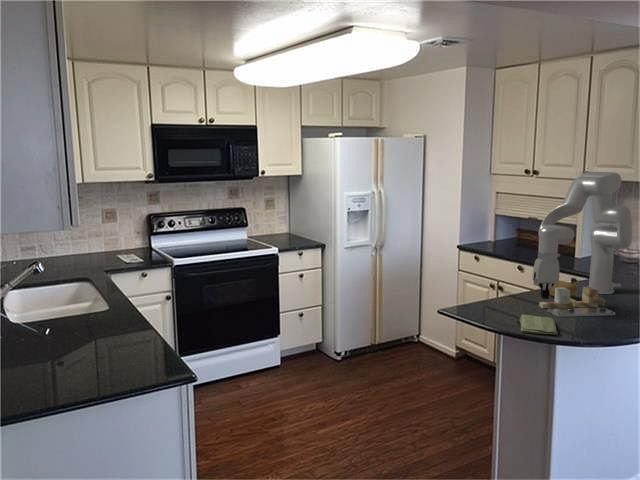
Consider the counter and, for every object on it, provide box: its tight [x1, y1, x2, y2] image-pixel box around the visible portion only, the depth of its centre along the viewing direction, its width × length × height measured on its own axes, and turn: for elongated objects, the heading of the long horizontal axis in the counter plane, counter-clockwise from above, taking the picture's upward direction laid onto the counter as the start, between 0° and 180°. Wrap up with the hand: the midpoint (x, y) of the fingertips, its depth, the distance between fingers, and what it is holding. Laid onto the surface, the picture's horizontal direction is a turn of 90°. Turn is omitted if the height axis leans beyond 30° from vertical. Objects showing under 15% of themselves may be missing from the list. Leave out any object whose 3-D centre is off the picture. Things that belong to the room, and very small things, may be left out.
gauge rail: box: [538, 286, 606, 309], centre depth 226 cm, size 25×12×8 cm, turn 95°
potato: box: [545, 280, 578, 298], centre depth 245 cm, size 10×14×8 cm
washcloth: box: [519, 314, 559, 336], centre depth 202 cm, size 13×18×3 cm
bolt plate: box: [546, 306, 617, 318], centre depth 221 cm, size 25×8×2 cm, turn 95°
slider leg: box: [553, 287, 577, 307], centre depth 225 cm, size 4×12×6 cm, turn 5°
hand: (544, 298), depth 228 cm, fingers closed
